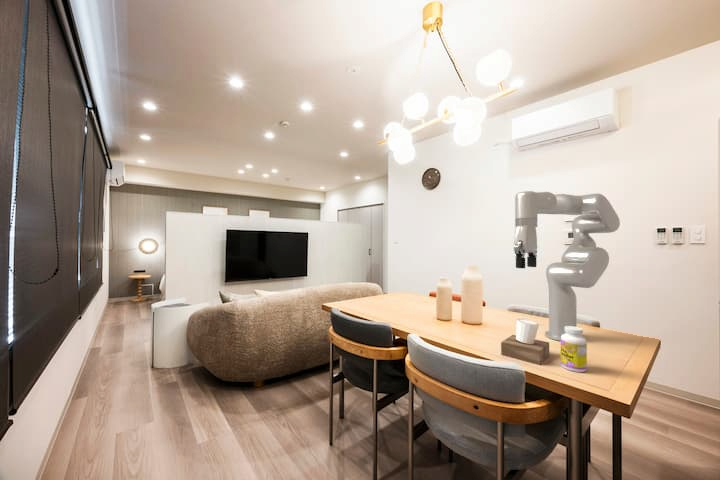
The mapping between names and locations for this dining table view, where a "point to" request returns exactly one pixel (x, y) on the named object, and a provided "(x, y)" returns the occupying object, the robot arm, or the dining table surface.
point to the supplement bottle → (573, 349)
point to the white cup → (526, 331)
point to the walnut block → (525, 350)
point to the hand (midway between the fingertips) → (526, 267)
